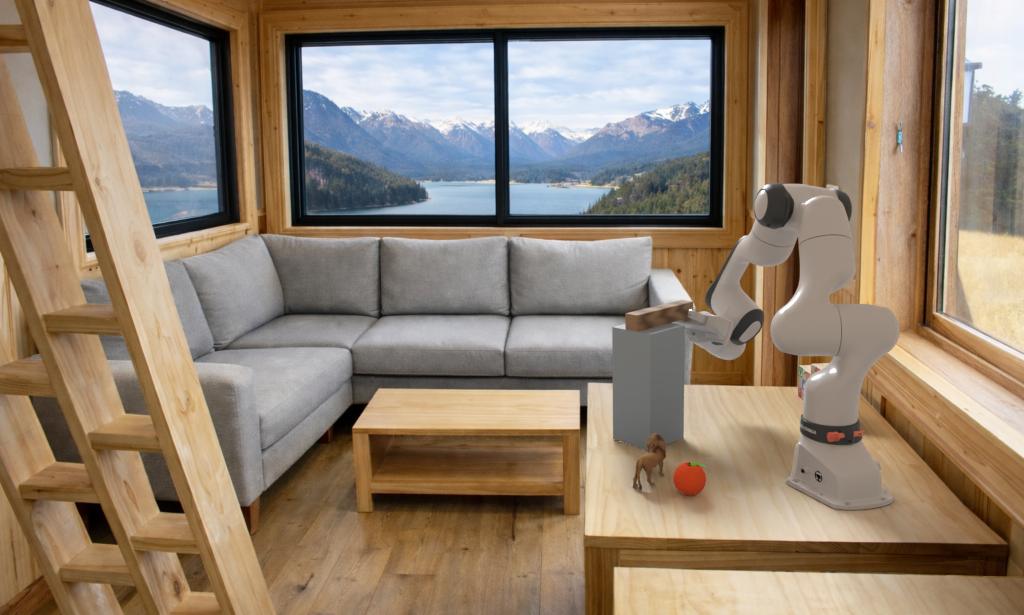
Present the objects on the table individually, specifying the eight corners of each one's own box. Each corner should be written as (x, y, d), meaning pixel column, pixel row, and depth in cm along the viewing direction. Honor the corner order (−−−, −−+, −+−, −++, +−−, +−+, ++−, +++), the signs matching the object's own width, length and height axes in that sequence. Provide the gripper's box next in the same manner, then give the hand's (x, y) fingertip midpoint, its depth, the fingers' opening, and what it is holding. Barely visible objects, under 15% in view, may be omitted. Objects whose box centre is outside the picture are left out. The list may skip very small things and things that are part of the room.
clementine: (703, 485, 184) (704, 454, 182) (716, 498, 177) (716, 466, 175) (668, 489, 182) (668, 457, 181) (679, 502, 176) (679, 470, 174)
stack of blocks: (797, 396, 243) (798, 354, 241) (818, 395, 243) (820, 354, 241) (826, 420, 222) (828, 375, 220) (850, 419, 222) (852, 374, 220)
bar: (681, 315, 218) (682, 299, 217) (692, 316, 216) (693, 301, 215) (625, 329, 204) (625, 313, 203) (636, 331, 201) (636, 315, 201)
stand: (646, 426, 221) (646, 318, 215) (683, 437, 212) (684, 325, 207) (612, 439, 213) (612, 327, 207) (650, 451, 204) (650, 334, 198)
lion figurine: (646, 466, 195) (646, 429, 193) (669, 469, 193) (669, 432, 191) (629, 491, 182) (629, 451, 180) (653, 494, 180) (653, 454, 178)
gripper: (675, 312, 230) (646, 293, 221) (739, 323, 215) (712, 303, 206) (667, 334, 229) (639, 316, 220) (732, 346, 214) (704, 327, 205)
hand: (675, 310), depth 213 cm, fingers open, 8 cm apart
